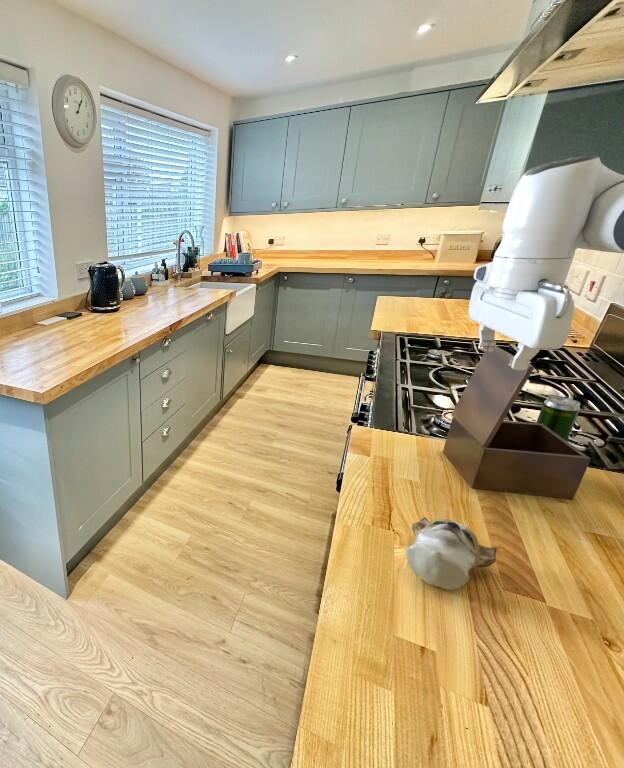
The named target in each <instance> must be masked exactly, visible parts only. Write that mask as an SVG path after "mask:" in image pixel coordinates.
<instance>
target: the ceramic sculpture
mask: <svg viewBox="0 0 624 768" xmlns="http://www.w3.org/2000/svg"><path fill="white" fill-rule="evenodd" d="M411 531H412V532H413V534H414V536H415V540H414V543H413V544H411V545H410V546H408V547H407V548H406V551H405V554H406V555H405V556H406V557H405V558H406V561H407V564H408V566H409V568H410V571H412V572H413V574H415V575H416V576H418V578H420V579H421V580H422V581H423V582H424V583H426V584H428V585H430V586H432V587H436V588H441V589H443V590H447V591H453V590H457V589H461V587H463V586H464V585H466V584H467V583H468V582H469V580H470V576H469V572H470V570H471V569H474V568H487V567H490V566H492V565H493V564H495V563H496V562H497V555H496V554H497V547H495V546H492V547H488V546H483V545H482V544H479V542H478V538H477V536H476V534H475V533H474V532H473V531H472V530H471V529H470V528H469V527H467V526H465V525H463V524H461V523H459V522H457V521H454V520H451V519H448V518H437V519H434V520H432V521H431V522H430V521H429V520H428V518H427V517H426V516H424V517H423V518H422V519H421V520H420V521H418V522H414V523H412V525H411Z"/></svg>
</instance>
